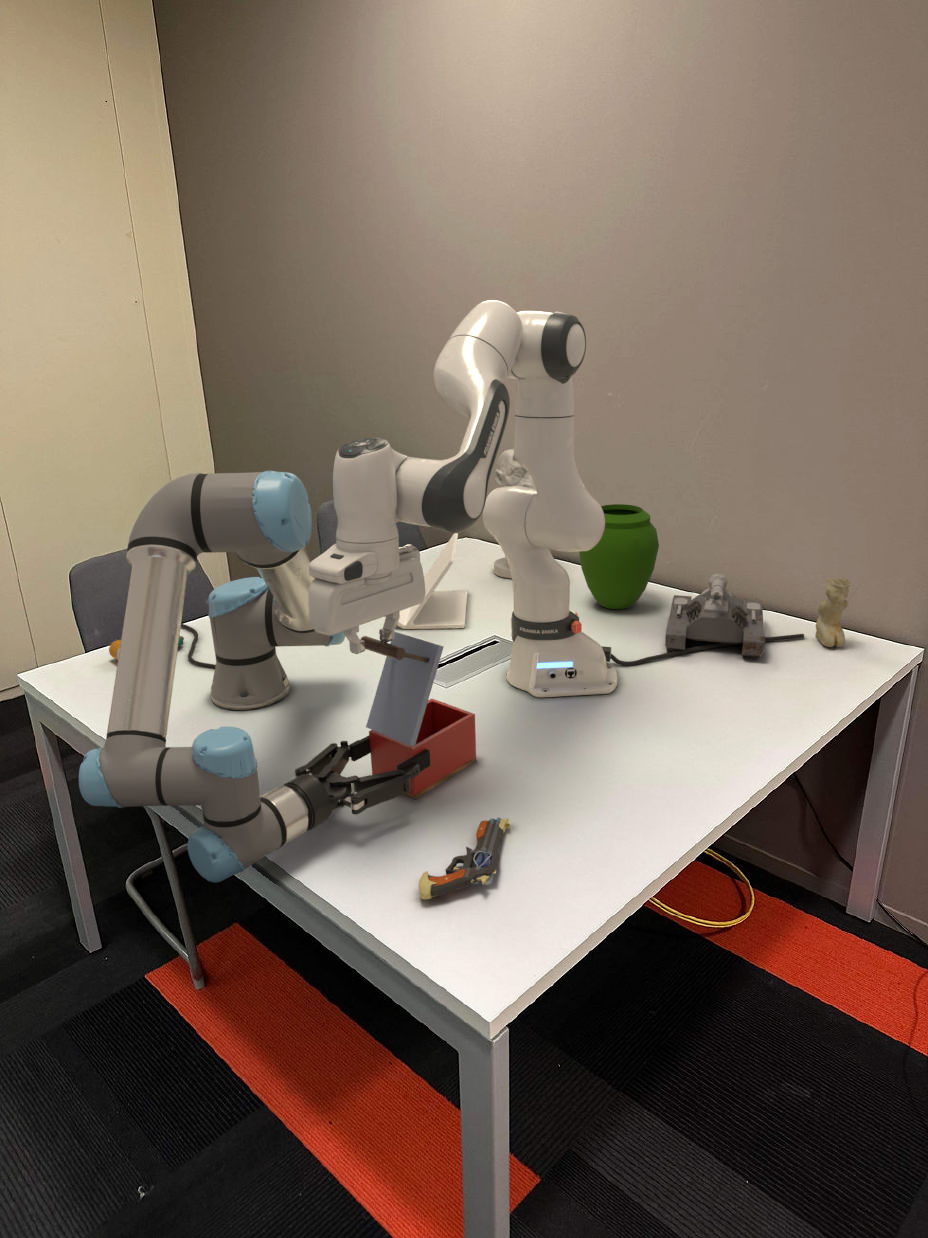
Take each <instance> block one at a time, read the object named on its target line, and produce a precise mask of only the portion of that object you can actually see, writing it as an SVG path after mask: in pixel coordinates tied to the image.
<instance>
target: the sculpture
mask: <svg viewBox="0 0 928 1238" xmlns="http://www.w3.org/2000/svg"><path fill="white" fill-rule="evenodd" d="M826 581H827V586H826V588H825V590H824V593H825V595H826V596H827V598H826V600H824V601H822V602H821V603H820V604H819V605H818V606H817V609H816V610H817V612H818V614H819V616H818V617H817V619H816V623H815V630H816V631H815V634H814V635H815V639H817V640H819V642H820V643H821V644H822V645H823V646H825V647H827V648H832V647H834V646H835V647H843V646H844V645H845V643H846V642H845V641H846V636H845V632H844V630H843V626H842V624H841V622H840V621H841V617H842V615H843V612H844V610H845V609H846V608H847V606H848V604H849V603H848V602H849V601H847V598H848V597H849V592H850V586H851V585H852V582H850V580H848V579H847V578H845V577H841V576H840V577H835V578H831V577H827V578H826Z"/></svg>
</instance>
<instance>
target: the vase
mask: <svg viewBox="0 0 928 1238" xmlns="http://www.w3.org/2000/svg"><path fill="white" fill-rule="evenodd" d="M600 506H601V508H602V510H603V512H604V516H605V529H604V533H603V535H602V537H601V539H600V541H599V542H598V543H597V545H596V546H595V547H593V548H592V549H591V550H588V551H578V554H579V562H580V569H581V571H582V574H583V577H584V580H585V583H586V585H587V588H588V590H589V591H590V594H592V597H593V598H594V600H595V601H596V602H597V603H598V604H599V605H600V606H602V607H604V608H606V609H609V610H625V609H628V608H630V607H632V606H634V604H636V602H638V601H639V599H640V597H641V596H642V595H643V593H644V592H645V590H646V588H647V586H648V584H649V581H650V579H651V577H652V574H653V572H654V570H655V566H656V562H657V557H658V552H659V548H660V544H659V543H660V542H659V537H658V531H657V528H656V527H655V526H654V524H653V523H652V522H651V515H650V514H649V512H647V511H645V510H644V509H643V508H642V507H641V506H638V505H633V504H622V503H621V504H619V503H616V504H615V503H614V504H604V505H600Z"/></svg>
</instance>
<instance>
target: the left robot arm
mask: <svg viewBox="0 0 928 1238" xmlns="http://www.w3.org/2000/svg"><path fill="white" fill-rule="evenodd" d="M312 519H313V517H312V508H311V504H310V503H309V494H308V491H307V489H306V486H305V485H304V483H303V482H302V480H301V479H300V478H299V477H298V476H297V475H296V474H294V473H291V472H288V471H277V470H275V471H274V470H264V471H254V472H253V471H252V472H220V473H219V472H218V473H216V472H215V473H214V472H213V473H212V472H211V473H199V472H197V473H189V474H185V475H182V476H179V477H176V478H175V479H172V480H171V481H169V482H168V483H166V484H164V485H163V486H162V487H161V488H160V489H159V490H158V491H156V493H154V494H153V496H152V497H151V498H150V499H149V500H148V501H147V502H146V504H145V506H144V507H143V508H142V510H141V511H140V513H139V514H138V516H137V518H136V519H135V522H134V524H133V527H132V529H131V532H130V535H129V536H128V537H129V538H128V542H127V550H126V554H125V560H126V562H127V563H128V564H129V565H130V566H131V567H132V568H131V572H130V579H129V586H128V593H127V598H126V605H125V610H124V611H125V612H124V618H123V625H122V632H121V638H120V640H121V644H120V651H119V657H118V660H117V665H116V671H115V677H114V683H113V691H112V696H111V697H112V698H111V703H110V710H109V716H108V723H107V730H106V738H105V742H104V746H103V747H102V746H101V747H98V748H93V749H90V750H89V751H87V752H86V753H85V755H84V757H83V761H82V762H81V763H80V765H79V771H78V786H79V791H80V794H81V797H82V799H83V800H84V801H85V802H86V803H87V804H89V805H90V806H92V807H93V806H94V807H111V808H119V809H123V808H133V807H134V808H135V807H165V806H166V807H168V806H169V807H177V806H179V807H182V806H183V807H184V806H200V807H201V811H202V819H203V825H202V826H199V827H197V829H196V830H194V831H192V832H191V833H190V834H189V836H188V841H187V844H186V846H187V848H186V849H187V853H188V857H189V859H190V862H191V864H192V866H193V868H194V869H195V871H196V872H197V873H198V874H199V875H200V876H201V877H202V878H203V879H205V880H207V881H208V882H211V883H221V882H222V881H225V880H226V879H229V878H230V877H232V876H234V875H236V874H239V873H243V872H245V870H247V868H249V867H251V866H252V865H254V864H255V863H257V862H258V861H260V860H261V859H263V858H265V857H266V856H268V855H270V854H271V853H273V852H274V851H276V850H278V849H280V848H282V847H283V846H285V845H286V844H288V843H290V842H291V841H293V840H295V839H297V838H299V837H300V836H302V835H304V834H305V833H307V832H309V831H312V830H314V829H315V828H317V827H318V826H320V825H322V824H324V823H325V822H327V821H328V819H330V816H331V815H332V813H333V812H334V811H335V810H337V809H341V808H344V807H347V808H349V809H351V813H352V815H355V816H357V815H359V814H361V813H363V812H364V811H365V810H366V809H368V808H372V807H374V806H377V805H379V804H383V803H385V802H387V801H390V800H393V799H396V798H398V797H401V796H405V794H406V793H409V792H410V779H412V778H414V777H415V776H417V775H419V773H420V772H421V771H423V770H424V769H426V768H428V767H429V766H430V751H429V750H427V749H426V750H424V751H422V752H421V753H419V754H417V755H415V756H414V757H412V758H410V759H408V760H406V761H405V762H403V763H401V764H399V765H398V766H397V770H394V771H389V772H384V773H379V774H375V775H372V774H371V775H366V776H361V777H360V776H358V775H350V776H342V775H341V774H342V772H343V771H344V769H345V767H346V766H347V765H348V763H349V761H352V762H353V763H354V762H357V761H359V760H360V759H362V758H364V757H367V756H368V755H370V754H371V752H370V740H369V735H367V736H365V737H363V738H361V739H357V740H355V741H354V742H352V743H350V744H349V742H348V740H342V741H340V742H339V743H340V744H339V745H340V746H338V743H337V742H332V743H330V744H329V745H328V746H326V747H325V748H324V749H323V750H322V751H320V752H319V753H318V754H317V755H315V756H314V757H313V758H312V759H311V760H310V761H308V762H307V763H306V764H304V765H302V766H299V767H297V768H295V769H294V775H295V778H293V779H291V780H289V781H286V782H285V783H284V784H282V785H279V786H277V787H275V788H274V789H271V790H269V791H268V792H266V793H264V794H262V795H261V792H260V784H259V783H260V781H259V773H258V762H257V758H256V755H255V749H254V745H253V740H252V737H251V735H250V734H249V733H248V732H247V731H246V730H244V729H242V728H240V727H235V726H220V727H218V728H215V729H214V728H211V729H207V730H205V731H204V732H201V733H199V735H197V737H196V738H194V740H193V742H192V746H172V747H171V746H170V747H169V746H166V745H167V734H168V727H169V720H170V719H169V718H170V713H171V711H170V710H171V704H172V697H173V689H174V681H175V674H176V673H175V672H176V665H177V658H178V651H179V647H178V643H179V636H181V635H180V634H181V629H182V628H184V629H186V630H189V631H191V632H192V633H193V634H194V638H193V640H192V643H191V645H190V649H189V651H188V654H187V658H188V661H189V662H191V663H192V664H194V665H197V666H199V667H205V668H212V669H214V672H213V678H212V682H211V683H212V684H211V686H210V695H211V701H212V703H214V705H216V706H217V707H220V708H222V709H226V710H232V711H233V710H234V711H246V710H255V709H261V708H264V707H267V706H270V705H273V704H276V703H277V702H279V701H281V700H283V699H284V698H285V697H286V696H287V695H288V694H289V692H290V680H289V678H288V674H287V673H286V671H285V669H284V667H283V665H282V662H281V661H280V659H279V656H278V655H277V647H279V648H281V647H319V646H321V647H322V646H324V647H330V646H339V645H341V644H343V643H344V641H345V639H346V636H345V635H344V633H343V632H339V633H337V634H334V635H331V636H329V635H325V634H321V633H319V632H316V631H315V630H314V629H313V628H312V627H311V625H310V619H309V588H310V585H311V583H312V581H313V580H314V579H315V577H312V576H310V574H309V564H310V562H311V561H312V560H311V558H310V556H309V554H308V552H307V549H306V546H308V544H309V543H310V540H311V537H312V531H313V520H312ZM202 553H203V554H204V553H209V554H210V553H215V554H216V553H234V554H235V555H236V556H237V558H238V559H239V560H240V561H241V562H243V563H244V564H245V565H247V566H249V567H252V568H255V569H256V570H257V572H258V573H259V575H260V576H252V577H243V578H238V579H235V580H231V581H227V582H225V583H223V584H221V585H218V586H217V587H216V588H214V589H213V590H212V591H211V592H210V594H209V595H208V600H207V601H208V602H207V603H208V618H209V622H210V630H211V635H212V642H213V650H214V656H215V664H214V663H206V662H201V661H198V660H195V659H194V658H193V657H192V655H193V653H194V650H195V648H196V643H197V641H198V639H199V633H198V631H197V630H196V629H195V628H193V627H191V626H189V625H187V624H185V623H182V620H183V611H184V605H185V598H186V597H185V596H186V590H187V589H186V588H187V581H188V575H190V574H191V573H193V572H194V571H195V570H196V567H197V559H198V556H199V555H201V554H202ZM352 784H353V788H352Z"/></svg>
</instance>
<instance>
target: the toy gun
mask: <svg viewBox="0 0 928 1238" xmlns="http://www.w3.org/2000/svg"><path fill="white" fill-rule="evenodd" d="M508 828H509V829H510V828H511V826H510V819H509V818H508V817H507V818H501V817H496V819H495V818H493V817H492V818H490V819H489V820H481V821H480V823H479V825H478V828H477V831H476V833H475V837H476V841H477V844H476V846H475V848H474V849H472V848H470V847H469V846H466V847H465V849H466V854H465V855H457V856H454V857H453V858H452V861H451V863H450V864H449V865H448V866H447V868H445V875H440V876H439V875H430V874H429V873H428V871H427V870H425V871H424V872H423V873H422V875H421V876H420V879H419V881H418V890H419V896H420V899H421V900H430V899H433V898H434V897H439V896H443V895H447V894H449V893H452V892H454V891H458V890H460V889H465V888H467V887H470V886H472V885H474V884H476V883H478V882H481V884H482V885H484V884H486V883H487V881H488V880H489V879H490V876H492V875H494V874H495V875H496V874H497V870H498V867H499V863H500V848H501V845H502V840H503V838H504V835H505V832H506V829H508ZM458 864H462V867H460V868H458V867H457V865H458Z"/></svg>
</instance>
